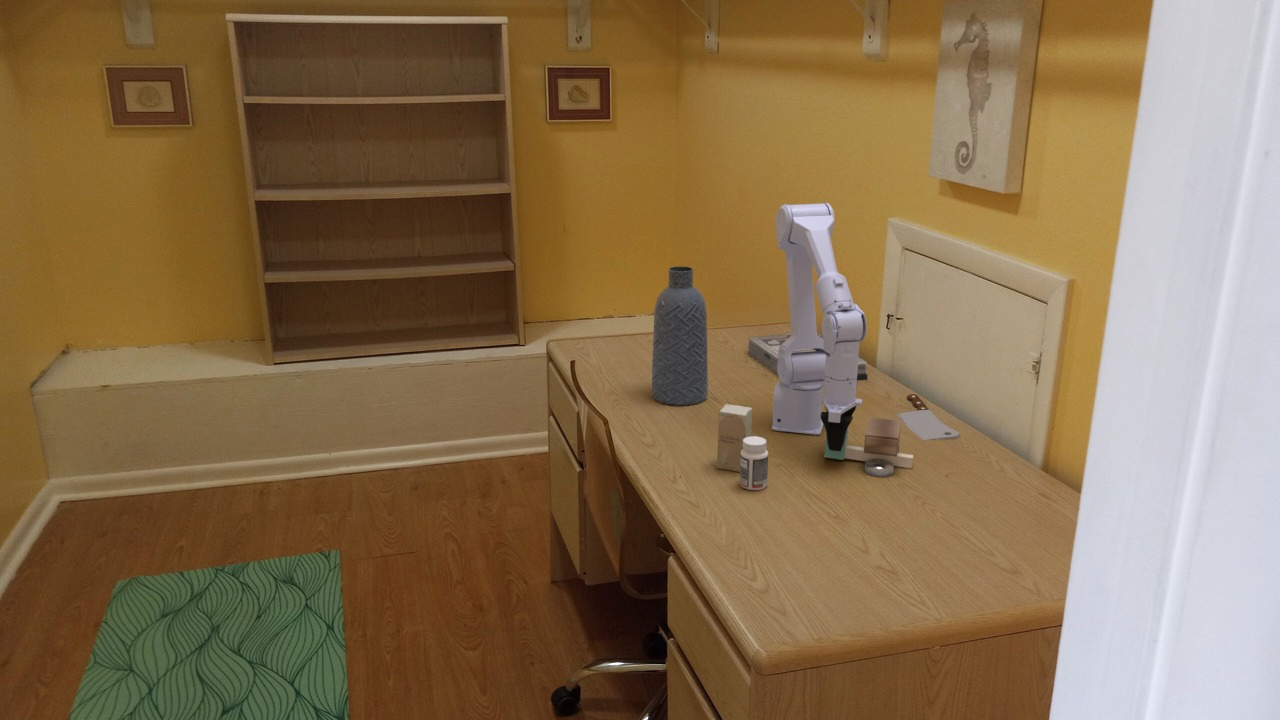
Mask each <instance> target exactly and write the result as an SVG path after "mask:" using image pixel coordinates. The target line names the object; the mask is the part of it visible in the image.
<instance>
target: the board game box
mask: <svg viewBox="0 0 1280 720" xmlns="http://www.w3.org/2000/svg"><path fill="white" fill-rule="evenodd" d="M817 335H818V336H819V337H820V338H822V339H823V334H821V333H819V332H817ZM790 336H791V333H783V334H774V335H773V334H770V335H761V336H751V337H749V336H748V350H747V351H748V352H747V353H749V354H750V355H751V356H750V355H749V354H748V355H749V356H750V357H752V358H753V357H754V358H755V359H754V358H753V359H754V360H756V361H757V360H758V361H759V363H760V364H761V363H762V364H763V366H764V367H765V368H766V367H767V368H766V369H768V370H769V371H770V372H772V373H773V374H774V375H776V376H778V371H777V363H778V350H779V347H780V346H781V345H782V344H783V343H784V342H785V341H786V340H787V339H788V338H789V337H790ZM823 340H824V339H823ZM811 351H815V350H814V349H801V350H795V351H793V352H792V353H797V352H811ZM758 361H757V362H758ZM762 364H761V365H762ZM867 365H868V364H867V361H866V360H865V359H863V358H861V357H859V356H858V371H857V382H858V381H867V380H868V373H867ZM778 377H779V376H778Z"/></svg>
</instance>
